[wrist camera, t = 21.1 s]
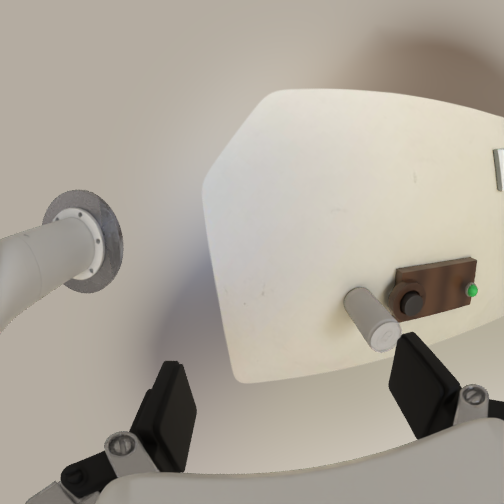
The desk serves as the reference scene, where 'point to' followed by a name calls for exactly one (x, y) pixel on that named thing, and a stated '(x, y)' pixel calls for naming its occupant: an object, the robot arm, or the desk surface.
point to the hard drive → (499, 167)
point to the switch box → (433, 286)
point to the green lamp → (471, 289)
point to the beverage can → (372, 320)
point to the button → (411, 303)
